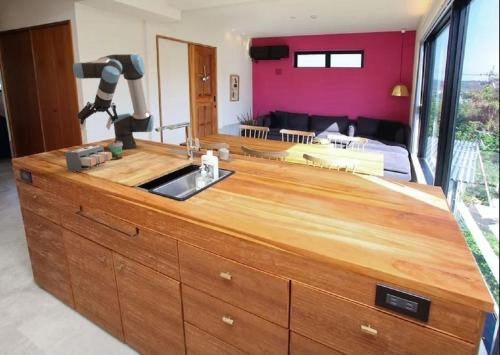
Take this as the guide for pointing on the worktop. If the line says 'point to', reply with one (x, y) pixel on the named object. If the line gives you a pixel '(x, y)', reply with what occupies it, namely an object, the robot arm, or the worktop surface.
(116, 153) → the food container
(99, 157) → the plunger middle
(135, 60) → the robot arm
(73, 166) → the grey slotted holder
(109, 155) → the plunger
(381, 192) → the worktop surface
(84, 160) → the plunger
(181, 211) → the worktop surface
